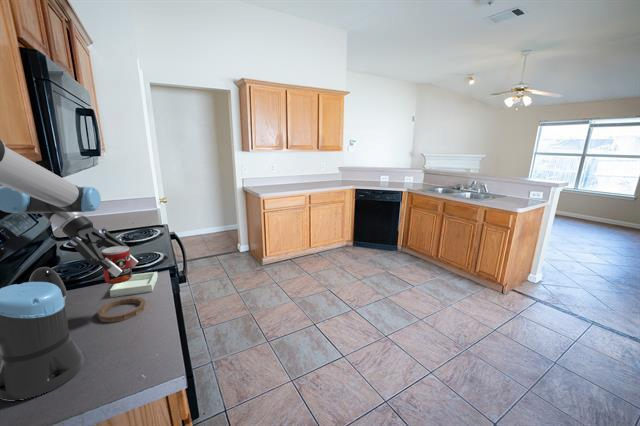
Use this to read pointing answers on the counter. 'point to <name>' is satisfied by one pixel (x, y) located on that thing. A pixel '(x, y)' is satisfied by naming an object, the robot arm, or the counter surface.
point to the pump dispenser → (48, 278)
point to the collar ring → (121, 316)
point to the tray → (135, 285)
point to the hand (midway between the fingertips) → (127, 269)
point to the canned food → (118, 264)
